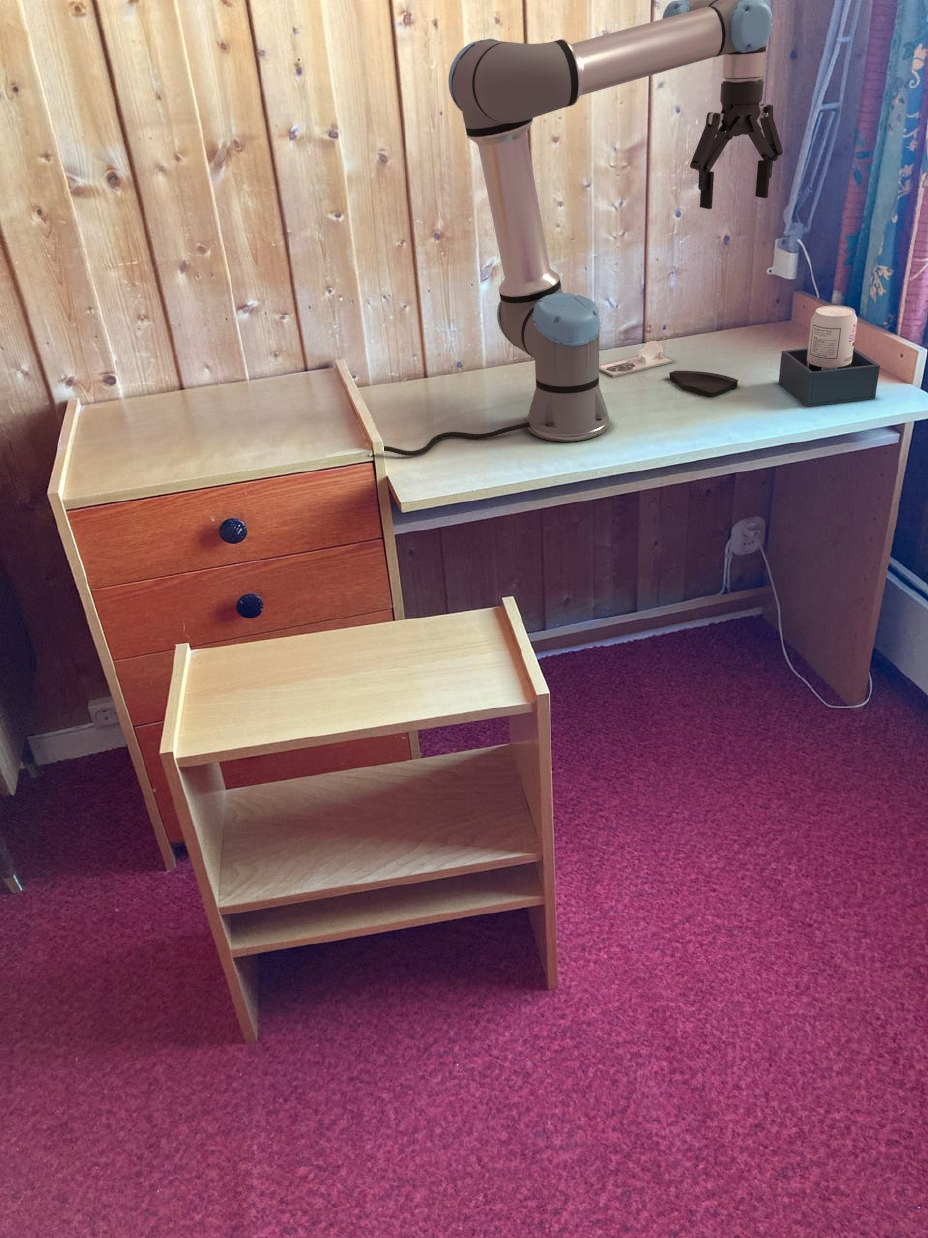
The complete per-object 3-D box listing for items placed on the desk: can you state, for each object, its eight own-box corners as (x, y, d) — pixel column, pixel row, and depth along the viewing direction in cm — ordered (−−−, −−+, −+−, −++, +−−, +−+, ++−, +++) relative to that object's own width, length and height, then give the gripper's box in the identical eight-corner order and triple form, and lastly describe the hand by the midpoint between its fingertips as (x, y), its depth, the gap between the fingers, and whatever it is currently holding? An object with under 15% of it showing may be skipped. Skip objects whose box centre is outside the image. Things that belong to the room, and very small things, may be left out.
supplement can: (797, 382, 207) (805, 306, 198) (837, 378, 207) (847, 302, 199) (813, 397, 200) (822, 319, 192) (855, 392, 200) (866, 314, 192)
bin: (806, 406, 197) (810, 373, 194) (778, 383, 209) (781, 350, 205) (875, 399, 198) (880, 365, 195) (843, 375, 210) (847, 343, 206)
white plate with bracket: (654, 354, 228) (654, 333, 226) (672, 362, 223) (673, 341, 221) (596, 368, 223) (596, 347, 220) (613, 376, 218) (613, 355, 215)
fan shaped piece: (689, 371, 218) (690, 364, 217) (740, 387, 208) (740, 379, 207) (661, 381, 214) (661, 373, 213) (710, 398, 204) (711, 390, 203)
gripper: (781, 70, 197) (770, 189, 208) (674, 85, 188) (669, 209, 199) (809, 72, 191) (797, 195, 203) (700, 87, 182) (694, 215, 194)
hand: (733, 202), depth 201 cm, fingers open, 13 cm apart
